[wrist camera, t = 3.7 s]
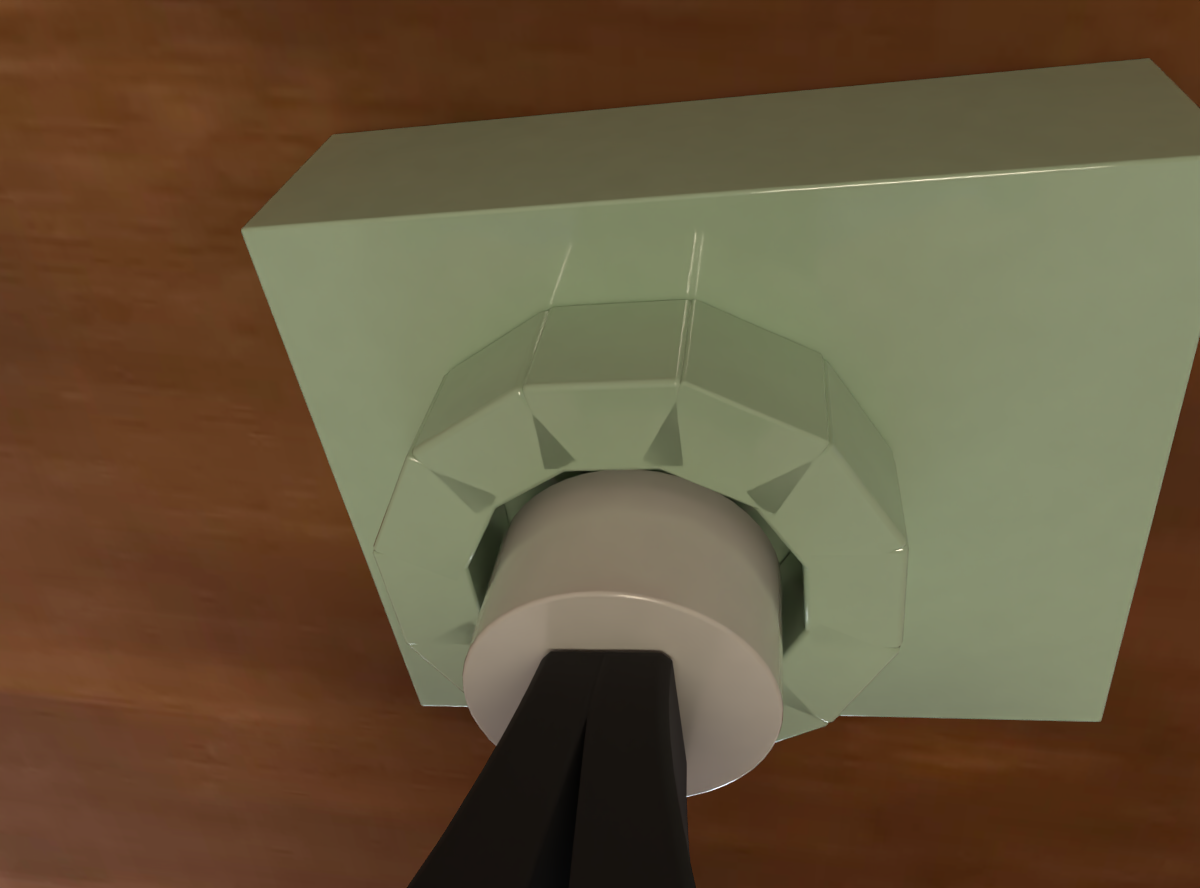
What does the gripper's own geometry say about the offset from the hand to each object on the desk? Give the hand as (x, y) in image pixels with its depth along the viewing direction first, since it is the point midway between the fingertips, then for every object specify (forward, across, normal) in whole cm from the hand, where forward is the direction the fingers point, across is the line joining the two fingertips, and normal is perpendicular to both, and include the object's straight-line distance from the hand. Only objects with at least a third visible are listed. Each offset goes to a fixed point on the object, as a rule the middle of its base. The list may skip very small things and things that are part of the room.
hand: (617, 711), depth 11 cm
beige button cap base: (+7, -1, 0) cm, 7 cm away
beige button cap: (+2, 0, 0) cm, 2 cm away
